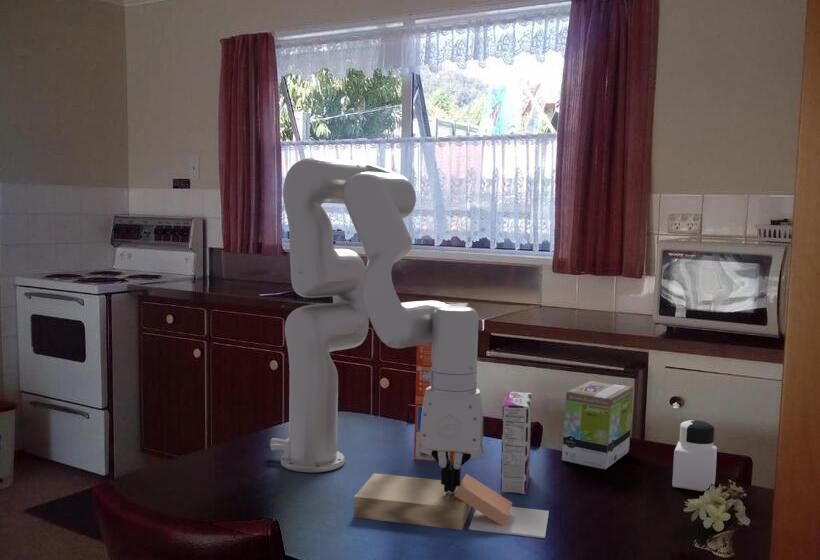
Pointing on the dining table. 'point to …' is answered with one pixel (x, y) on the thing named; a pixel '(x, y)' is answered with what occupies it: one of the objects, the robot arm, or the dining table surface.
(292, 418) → the robot arm
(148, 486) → the dining table surface
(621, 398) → the tea box
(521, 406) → the candy bar box
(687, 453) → the medicine bottle
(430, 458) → the pasta box
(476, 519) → the mat
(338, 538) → the dining table surface
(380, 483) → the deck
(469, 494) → the block
